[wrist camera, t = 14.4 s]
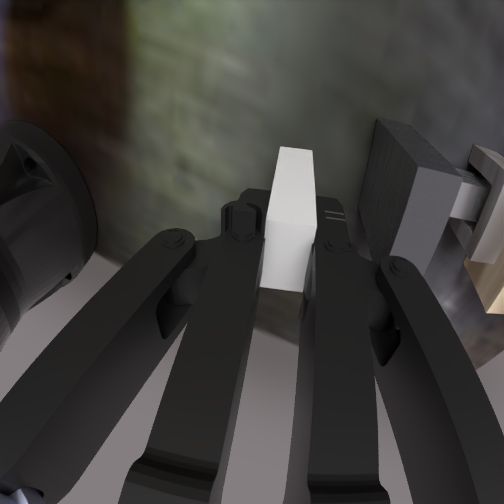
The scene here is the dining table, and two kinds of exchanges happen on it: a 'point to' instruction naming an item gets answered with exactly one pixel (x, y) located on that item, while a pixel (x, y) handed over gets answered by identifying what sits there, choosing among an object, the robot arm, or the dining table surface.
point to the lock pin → (413, 195)
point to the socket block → (486, 234)
